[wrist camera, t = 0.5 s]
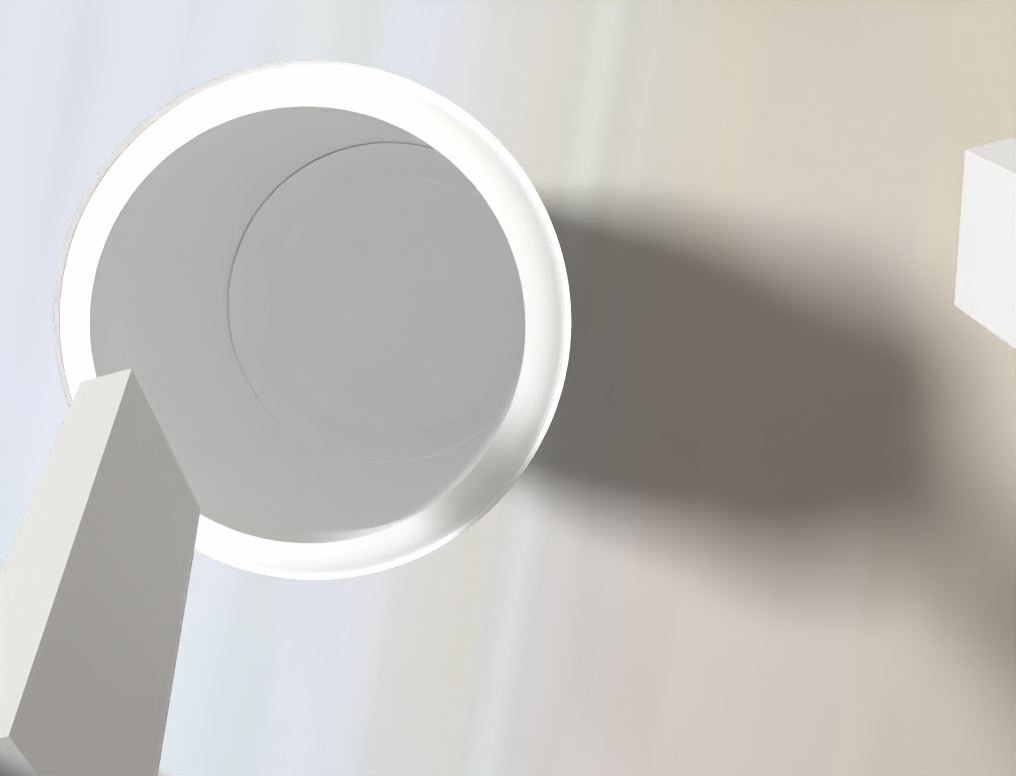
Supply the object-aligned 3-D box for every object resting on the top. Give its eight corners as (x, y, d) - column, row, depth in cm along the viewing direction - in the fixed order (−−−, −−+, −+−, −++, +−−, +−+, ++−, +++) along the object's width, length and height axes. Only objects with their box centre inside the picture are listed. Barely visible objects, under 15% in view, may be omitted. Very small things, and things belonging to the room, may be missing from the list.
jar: (442, 86, 32) (350, -63, 17) (620, 324, 33) (679, 378, 18) (210, 273, 33) (-62, 286, 18) (388, 498, 34) (264, 683, 19)
